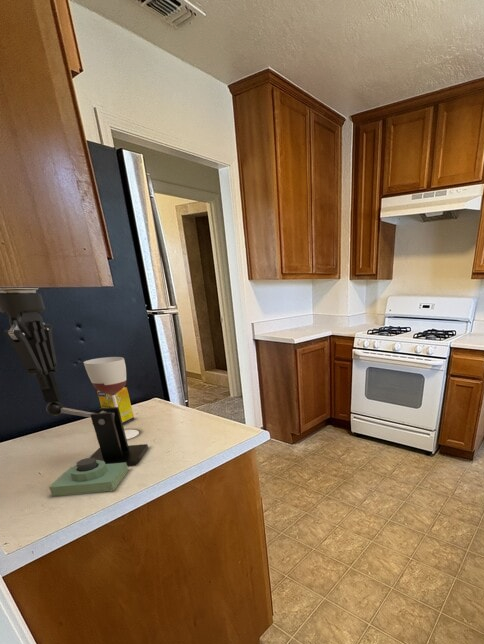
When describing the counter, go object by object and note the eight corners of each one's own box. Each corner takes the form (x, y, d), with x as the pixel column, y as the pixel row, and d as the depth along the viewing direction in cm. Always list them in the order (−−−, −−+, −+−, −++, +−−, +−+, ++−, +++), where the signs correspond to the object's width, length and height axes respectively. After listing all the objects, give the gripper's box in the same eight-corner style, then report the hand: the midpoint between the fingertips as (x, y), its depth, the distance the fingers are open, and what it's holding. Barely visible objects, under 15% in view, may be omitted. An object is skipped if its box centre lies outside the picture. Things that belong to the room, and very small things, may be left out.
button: (75, 473, 75) (73, 465, 75) (83, 465, 79) (80, 458, 78) (93, 471, 76) (91, 464, 75) (100, 463, 79) (98, 456, 78)
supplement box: (105, 424, 112) (96, 391, 107) (119, 418, 117) (111, 386, 113) (121, 425, 110) (112, 392, 106) (134, 419, 116) (127, 386, 112)
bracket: (83, 469, 84) (67, 419, 79) (100, 451, 93) (87, 405, 88) (136, 465, 86) (123, 416, 81) (148, 448, 95) (137, 402, 90)
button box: (52, 496, 74) (46, 479, 72) (73, 475, 82) (68, 459, 80) (113, 490, 75) (109, 474, 74) (128, 470, 83) (124, 455, 82)
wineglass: (146, 433, 104) (129, 359, 96) (112, 444, 98) (90, 365, 89) (133, 426, 110) (116, 355, 101) (100, 436, 103) (78, 361, 94)
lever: (43, 416, 81) (43, 403, 80) (50, 411, 84) (50, 399, 83) (110, 427, 85) (110, 415, 84) (115, 422, 88) (115, 410, 87)
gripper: (17, 292, 67) (56, 409, 77) (54, 291, 79) (84, 392, 88) (-27, 293, 66) (18, 411, 75) (17, 291, 78) (51, 394, 87)
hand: (53, 401), depth 82 cm, fingers closed
